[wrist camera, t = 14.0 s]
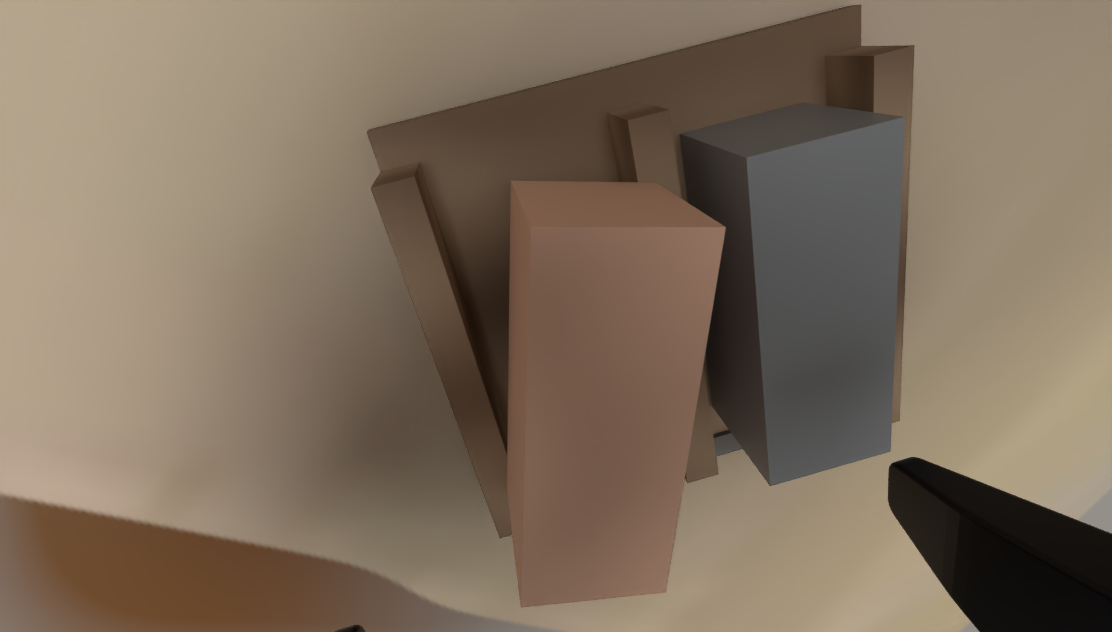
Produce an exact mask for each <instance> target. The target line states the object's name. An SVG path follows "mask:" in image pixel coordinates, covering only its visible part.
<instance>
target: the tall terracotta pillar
mask: <svg viewBox="0 0 1112 632" xmlns="http://www.w3.org/2000/svg"><path fill="white" fill-rule="evenodd" d="M725 230H726V227H725V226H723V225H722V224H720V223H719V222H717V221H715V220H714V219H712V218H711V217H709V216H708V215H706V214H704V213H703V212H701V211H700V210H698V209H697V208H695V207H694V206H692V205H690V204H689V203H687V202H686V201H684V200H683V199H681V198H680V197H678V196H676V195H675V194H673V193H672V192H670V191H669V190H667V189H666V188H664V187H662V186H661V185H659V184H658V183H650V182H574V181H511V197H510V279H509V362H508V444H507V495H508V504H509V512H510V521H511V529H512V537H513V546H514V554H515V562H516V571H517V579H518V588H519V596H520V604H521V607H529V606H539V605H549V604H558V603H568V602H577V601H587V600H597V599H606V598H616V597H626V596H635V595H645V594H655V593H664V592H666V589H667V583H668V577H669V571H670V564H671V558H672V552H673V546H674V540H675V534H676V528H677V522H678V516H679V510H680V504H681V498H682V491H683V485H684V479H685V473H686V467H687V461H688V455H689V449H690V443H691V437H692V431H693V424H694V418H695V412H696V406H697V400H698V394H699V388H700V382H701V376H702V370H703V364H704V358H705V351H706V345H707V339H708V333H709V327H710V321H711V315H712V309H713V303H714V297H715V291H716V285H717V278H718V272H719V266H720V260H721V254H722V248H723V242H724V236H725Z"/></svg>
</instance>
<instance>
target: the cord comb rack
mask: <svg viewBox="0 0 1112 632" xmlns="http://www.w3.org/2000/svg"><path fill="white" fill-rule="evenodd" d="M913 67H914V45H911V46H861V5H853V6H847V7H843V8H839V9H836V10H832V11H828V12H824V13H820V14H816V15H812V16H808V17H805V18H801V19H797V20H793V21H789V22H785V23H781V24H777V25H774V26H770V27H766V28H762V29H758V30H754V31H750V32H746V33H742V34H739V35H735V36H731V37H727V38H723V39H719V40H715V41H711V42H708V43H704V44H700V45H696V46H692V47H688V48H684V49H680V50H676V51H673V52H669V53H665V54H661V55H657V56H653V57H649V58H645V59H642V60H638V61H634V62H630V63H626V64H622V65H618V66H614V67H610V68H607V69H603V70H599V71H595V72H591V73H587V74H583V75H579V76H576V77H572V78H568V79H564V80H560V81H556V82H552V83H548V84H544V85H541V86H537V87H533V88H529V89H525V90H521V91H517V92H513V93H510V94H506V95H502V96H498V97H494V98H490V99H486V100H482V101H478V102H475V103H471V104H467V105H463V106H459V107H455V108H451V109H447V110H444V111H440V112H436V113H432V114H428V115H424V116H420V117H416V118H412V119H409V120H405V121H401V122H397V123H393V124H389V125H385V126H381V127H378V128H374V129H370V130H368V131H367V134H368V137H369V140H370V143H371V145H372V148H373V151H374V154H375V157H376V159H377V162H378V165H379V168H380V171H381V172H380V174H379V176H378V177H377V179H376V180H375V182H374V184H373V185H372V187H371V190H372V193H373V196H374V198H375V201H376V204H377V206H378V209H379V212H380V215H381V217H382V220H383V223H384V225H385V228H386V231H387V234H388V236H389V239H390V242H391V244H392V247H393V250H394V252H395V255H396V258H397V261H398V263H399V266H400V269H401V271H402V274H403V277H404V280H405V282H406V285H407V288H408V290H409V293H410V296H411V299H412V301H413V304H414V307H415V309H416V312H417V315H418V317H419V320H420V323H421V326H422V328H423V331H424V334H425V336H426V339H427V342H428V345H429V347H430V350H431V353H432V355H433V358H434V361H435V364H436V366H437V369H438V372H439V374H440V377H441V380H442V382H443V385H444V388H445V391H446V393H447V396H448V399H449V401H450V404H451V407H452V410H453V412H454V415H455V418H456V420H457V423H458V426H459V429H460V431H461V434H462V437H463V439H464V442H465V445H466V447H467V450H468V453H469V456H470V458H471V461H472V464H473V466H474V469H475V472H476V475H477V477H478V480H479V483H480V485H481V488H482V491H483V494H484V496H485V499H486V502H487V504H488V507H489V510H490V512H491V515H492V518H493V521H494V523H495V526H496V529H497V531H498V534H499V537H500V538H503V537H506V536H510V535H512V529H511V521H510V512H509V504H508V495H507V444H508V362H509V279H510V197H511V181H574V182H650V183H658V184H659V185H661V186H662V187H664V188H666V189H667V190H669V191H670V192H672V193H673V194H675V195H676V196H678V197H680V198H681V199H683V200H684V201H686V202H687V203H688V201H687V193H686V185H685V176H684V168H683V159H682V151H681V143H680V133H684V132H688V131H692V130H696V129H700V128H704V127H707V126H711V125H715V124H719V123H723V122H727V121H731V120H735V119H739V118H743V117H747V116H751V115H755V114H759V113H763V112H767V111H771V110H775V109H778V108H782V107H786V106H790V105H794V104H798V103H802V102H804V103H811V104H818V105H825V106H832V107H839V108H846V109H853V110H860V111H867V112H874V113H881V114H888V115H895V116H902V117H905V130H904V153H903V176H902V199H901V222H900V244H899V267H898V290H897V313H896V335H895V358H894V381H893V404H892V423H894V422H897V421H900V397H901V372H902V346H903V321H904V296H905V270H906V245H907V220H908V194H909V169H910V143H911V118H912V93H913ZM740 449H743V448H742V447H741V445H740V444H739V443H738V441H737V440H736V439H735V437H734V436H733V434H732V433H731V432H730V430H729V429H728V428H727V426H726V425H725V423H724V422H723V421H722V419H721V418H720V417H719V415H718V414H717V412H716V411H715V410H714V408H713V407H712V402H711V394H710V385H709V377H708V369H707V360H706V352H705V358H704V364H703V370H702V376H701V382H700V388H699V394H698V400H697V406H696V412H695V418H694V424H693V431H692V437H691V443H690V449H689V455H688V461H687V467H686V473H685V479H686V481H687V483H690V482H693V481H697V480H700V479H703V478H707V477H710V476H714V475H717V474H718V467H717V459H716V456H719V455H723V454H726V453H730V452H733V451H736V450H740Z"/></svg>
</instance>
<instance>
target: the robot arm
mask: <svg viewBox="0 0 1112 632" xmlns="http://www.w3.org/2000/svg"><path fill="white" fill-rule="evenodd" d="M888 502H889V506H890V509H891V511H892V513H893V514H894V516H895V517H896V519H897V520H898V522H899V523H900V524H901V526H902V527H903V529H904V530H905V532H906V533H907V535H908V536H909V537H910V539H911V540H912V542H913V543H914V545H915V546H916V548H917V549H918V551H919V552H920V553H921V555H922V556H923V558H924V559H925V561H926V562H927V564H928V565H929V566H930V568H931V569H932V571H933V572H934V574H935V575H936V577H937V578H938V580H939V581H940V582H941V584H942V585H943V587H944V588H945V589H946V591H947V592H948V593H949V595H950V596H951V598H952V599H953V600H954V601H955V603H956V604H957V605H958V606H959V608H960V609H961V610H962V611H963V612H964V614H965V615H966V616H967V617H968V618H969V620H970V621H971V622H972V623H973V624H974V626H975V627H976V628H977V629H978V630H979V631H980V632H1112V534H1111V533H1109V532H1106V531H1104V530H1101V529H1099V528H1096V527H1094V526H1091V525H1088V524H1086V523H1083V522H1081V521H1078V520H1076V519H1073V518H1071V517H1068V516H1066V515H1063V514H1061V513H1058V512H1055V511H1053V510H1050V509H1048V508H1045V507H1043V506H1040V505H1038V504H1035V503H1033V502H1030V501H1027V500H1025V499H1022V498H1020V497H1017V496H1015V495H1012V494H1010V493H1007V492H1005V491H1002V490H999V489H997V488H994V487H992V486H989V485H987V484H984V483H982V482H979V481H977V480H974V479H971V478H969V477H966V476H964V475H961V474H959V473H956V472H954V471H951V470H949V469H946V468H943V467H941V466H938V465H936V464H933V463H931V462H928V461H926V460H923V459H920V458H917V457H910V458H907V459H903V460H900V461H897V462H894V463H892V464H891V465H890V467H889V477H888ZM335 632H365V630H364V629H363V627H362V626H360V625H353V626H349V627H346V628H343V629H339V630H337V631H335Z"/></svg>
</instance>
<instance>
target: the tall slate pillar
mask: <svg viewBox="0 0 1112 632" xmlns="http://www.w3.org/2000/svg"><path fill="white" fill-rule="evenodd" d="M904 130H905V117H902V116H895V115H888V114H881V113H874V112H867V111H860V110H853V109H846V108H839V107H832V106H825V105H818V104H811V103H804V102H802V103H798V104H794V105H790V106H786V107H782V108H778V109H775V110H771V111H767V112H763V113H759V114H755V115H751V116H747V117H743V118H739V119H735V120H731V121H727V122H723V123H719V124H715V125H711V126H707V127H704V128H700V129H696V130H692V131H688V132H684V133H680V143H681V151H682V159H683V168H684V176H685V185H686V193H687V201H688V203H689V204H690V205H692V206H694V207H695V208H697V209H698V210H700V211H701V212H703V213H704V214H706V215H708V216H709V217H711V218H712V219H714V220H715V221H717V222H719V223H720V224H722V225H723V226H725V227H726V230H725V236H724V242H723V248H722V254H721V260H720V266H719V272H718V278H717V285H716V291H715V297H714V303H713V309H712V315H711V321H710V327H709V333H708V339H707V345H706V351H705V352H706V360H707V369H708V377H709V385H710V394H711V402H712V407H713V408H714V410H715V411H716V412H717V414H718V415H719V417H720V418H721V419H722V421H723V422H724V423H725V425H726V426H727V428H728V429H729V430H730V432H731V433H732V434H733V436H734V437H735V439H736V440H737V441H738V443H739V444H740V445H741V447H742V448H743V450H744V451H745V452H746V454H747V455H748V456H749V458H750V459H751V461H752V462H753V463H754V465H755V466H756V467H757V469H758V470H759V472H760V473H761V474H762V476H763V477H764V478H765V480H766V481H767V482H768V484H769V485H770V486H772V485H776V484H779V483H783V482H786V481H790V480H793V479H797V478H800V477H804V476H807V475H810V474H814V473H817V472H821V471H824V470H828V469H831V468H835V467H838V466H842V465H845V464H849V463H852V462H856V461H859V460H863V459H866V458H869V457H873V456H876V455H880V454H883V453H887V452H890V449H891V426H892V404H893V381H894V358H895V335H896V313H897V290H898V267H899V244H900V222H901V199H902V176H903V153H904Z"/></svg>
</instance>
